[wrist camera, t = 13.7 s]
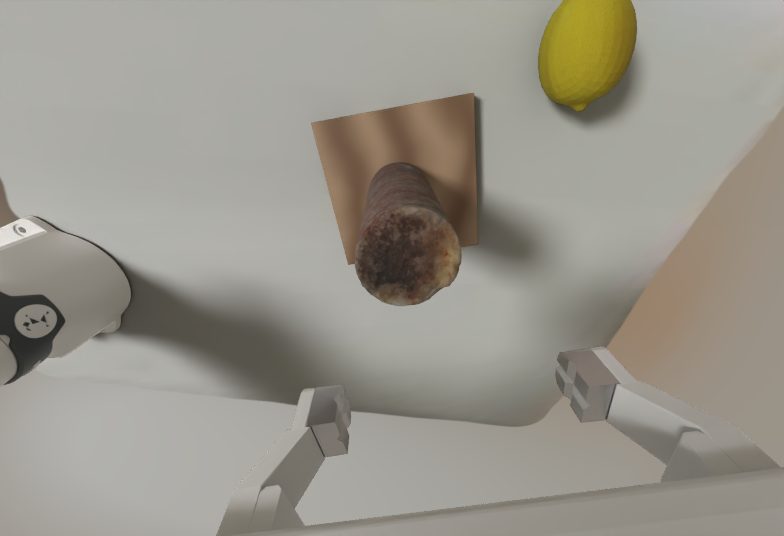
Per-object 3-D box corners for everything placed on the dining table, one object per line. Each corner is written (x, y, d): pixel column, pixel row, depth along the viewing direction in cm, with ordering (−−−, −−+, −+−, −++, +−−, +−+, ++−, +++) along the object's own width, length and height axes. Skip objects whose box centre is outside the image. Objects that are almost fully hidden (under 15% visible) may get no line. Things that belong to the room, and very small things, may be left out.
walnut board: (349, 259, 43) (348, 264, 42) (313, 122, 34) (310, 123, 33) (475, 239, 42) (478, 244, 41) (470, 93, 34) (473, 92, 32)
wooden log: (358, 171, 36) (335, 235, 18) (416, 148, 35) (451, 191, 17) (381, 227, 39) (381, 327, 22) (435, 208, 38) (481, 295, 21)
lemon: (588, 108, 35) (640, 108, 28) (520, 114, 35) (555, 117, 28) (612, -17, 29) (685, -55, 22) (533, -8, 30) (579, -43, 23)
